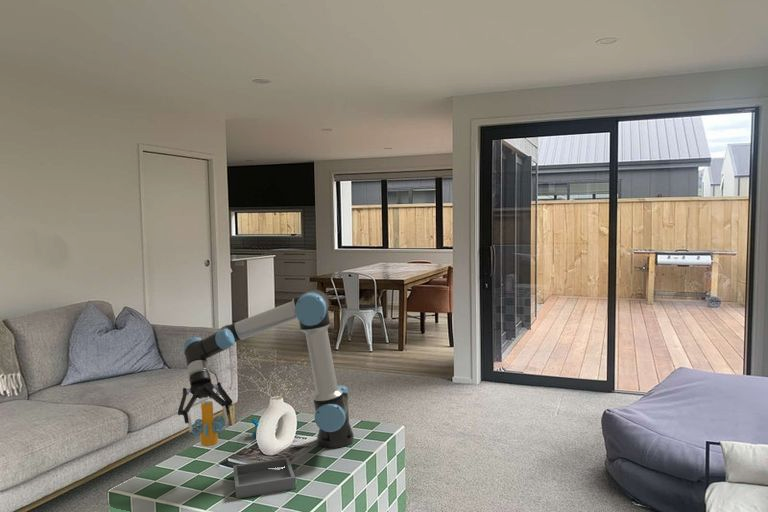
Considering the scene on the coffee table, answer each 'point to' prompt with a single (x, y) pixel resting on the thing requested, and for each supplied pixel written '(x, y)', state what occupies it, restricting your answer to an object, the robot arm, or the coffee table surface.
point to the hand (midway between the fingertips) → (209, 427)
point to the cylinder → (208, 425)
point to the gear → (255, 425)
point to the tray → (263, 477)
